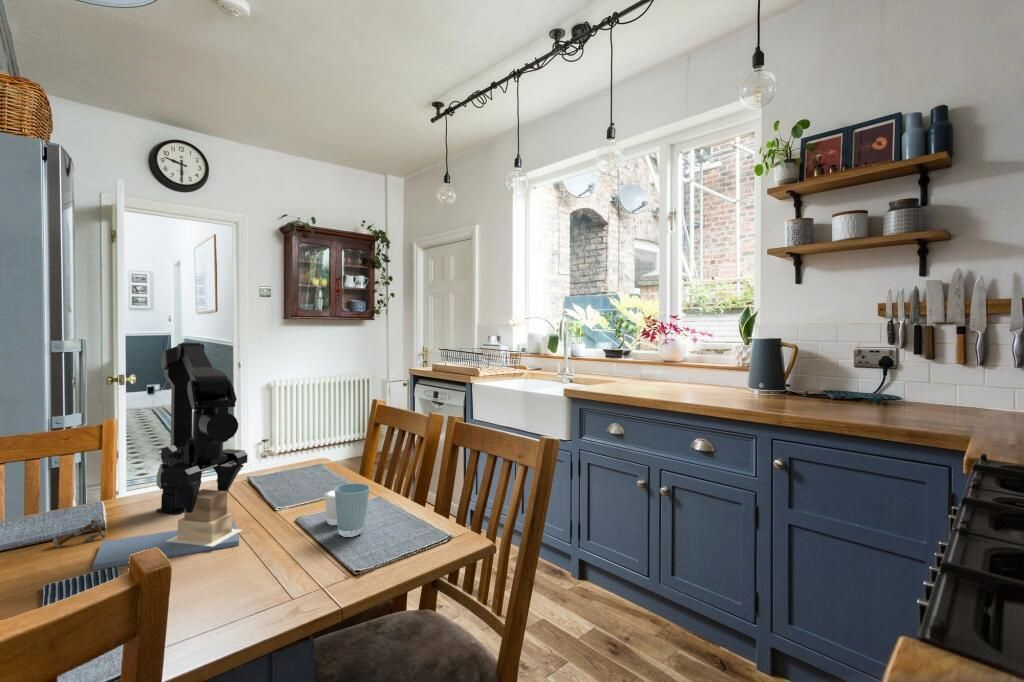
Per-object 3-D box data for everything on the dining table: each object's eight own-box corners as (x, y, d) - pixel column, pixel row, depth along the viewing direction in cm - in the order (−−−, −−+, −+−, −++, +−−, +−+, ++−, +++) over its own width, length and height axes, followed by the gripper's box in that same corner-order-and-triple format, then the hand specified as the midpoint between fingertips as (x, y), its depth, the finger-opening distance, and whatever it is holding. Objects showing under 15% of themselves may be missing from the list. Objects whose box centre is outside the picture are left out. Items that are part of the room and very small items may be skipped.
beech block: (199, 528, 112) (199, 510, 112) (231, 531, 111) (232, 513, 111) (177, 539, 106) (178, 520, 106) (211, 542, 105) (212, 523, 105)
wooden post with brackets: (110, 535, 107) (100, 517, 106) (64, 559, 103) (52, 541, 101) (110, 532, 109) (99, 515, 107) (64, 555, 104) (53, 538, 103)
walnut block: (202, 511, 111) (202, 489, 111) (226, 514, 110) (227, 491, 110) (184, 519, 106) (184, 496, 106) (209, 522, 105) (210, 498, 105)
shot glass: (359, 519, 124) (360, 491, 124) (339, 528, 117) (340, 499, 117) (338, 514, 126) (339, 486, 126) (317, 523, 120) (318, 494, 120)
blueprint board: (91, 572, 93) (92, 566, 93) (102, 544, 104) (102, 539, 104) (245, 546, 106) (245, 540, 106) (239, 523, 118) (239, 519, 118)
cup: (350, 542, 110) (352, 495, 110) (325, 535, 113) (327, 489, 113) (375, 531, 117) (376, 486, 117) (350, 524, 120) (352, 481, 120)
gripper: (206, 423, 118) (204, 489, 119) (136, 439, 100) (134, 517, 100) (250, 426, 117) (247, 493, 117) (187, 442, 98) (184, 522, 99)
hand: (205, 505), depth 108 cm, fingers open, 9 cm apart
